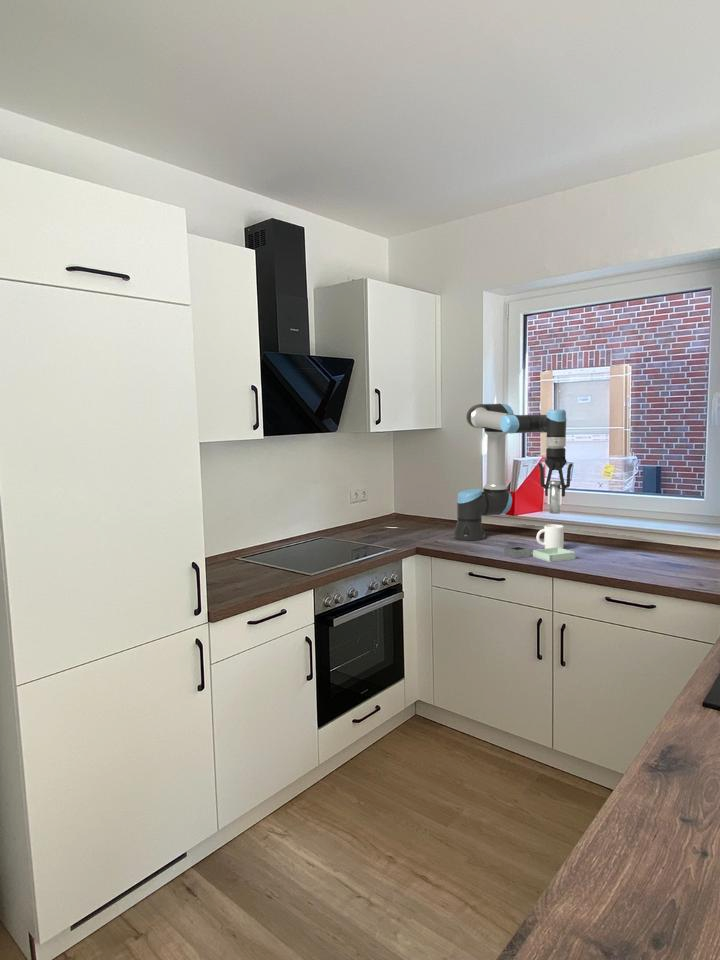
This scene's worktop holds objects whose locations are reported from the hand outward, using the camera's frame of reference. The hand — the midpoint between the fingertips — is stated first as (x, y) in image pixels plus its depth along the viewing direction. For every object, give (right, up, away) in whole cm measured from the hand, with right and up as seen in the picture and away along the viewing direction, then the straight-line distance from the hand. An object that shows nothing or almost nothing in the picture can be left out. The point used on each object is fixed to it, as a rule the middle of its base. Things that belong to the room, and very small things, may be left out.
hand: (554, 504), depth 255 cm
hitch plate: (-14, -22, +7) cm, 27 cm away
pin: (0, -4, 0) cm, 4 cm away
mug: (+4, -21, +19) cm, 29 cm away
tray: (0, -22, +2) cm, 23 cm away
